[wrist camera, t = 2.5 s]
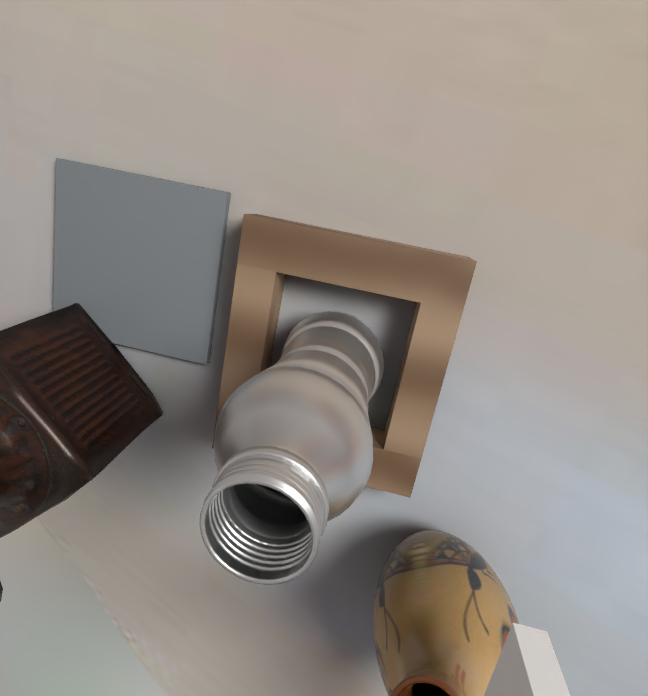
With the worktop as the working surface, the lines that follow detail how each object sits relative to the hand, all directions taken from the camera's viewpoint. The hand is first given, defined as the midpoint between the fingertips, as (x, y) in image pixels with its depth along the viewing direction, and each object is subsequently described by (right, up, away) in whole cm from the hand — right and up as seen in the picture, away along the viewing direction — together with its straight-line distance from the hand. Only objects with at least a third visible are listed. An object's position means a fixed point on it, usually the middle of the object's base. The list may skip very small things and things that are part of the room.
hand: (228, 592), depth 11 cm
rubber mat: (-11, +12, +22) cm, 27 cm away
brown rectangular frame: (+3, +6, +22) cm, 23 cm away
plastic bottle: (+3, +6, +22) cm, 23 cm away
